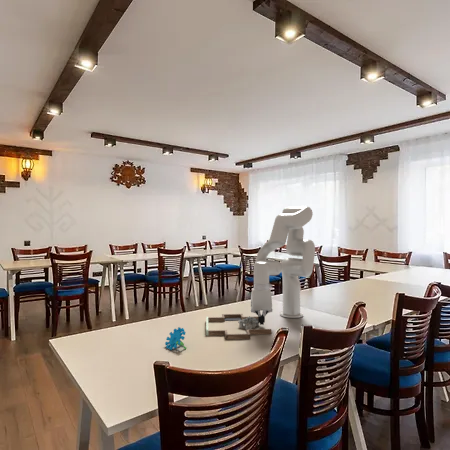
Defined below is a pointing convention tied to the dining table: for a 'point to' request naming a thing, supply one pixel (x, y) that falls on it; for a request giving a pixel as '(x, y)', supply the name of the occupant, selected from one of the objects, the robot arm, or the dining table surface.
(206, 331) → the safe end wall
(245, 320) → the grey rock
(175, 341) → the blue flower
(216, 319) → the trap box
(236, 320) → the trap pits
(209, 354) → the dining table surface
